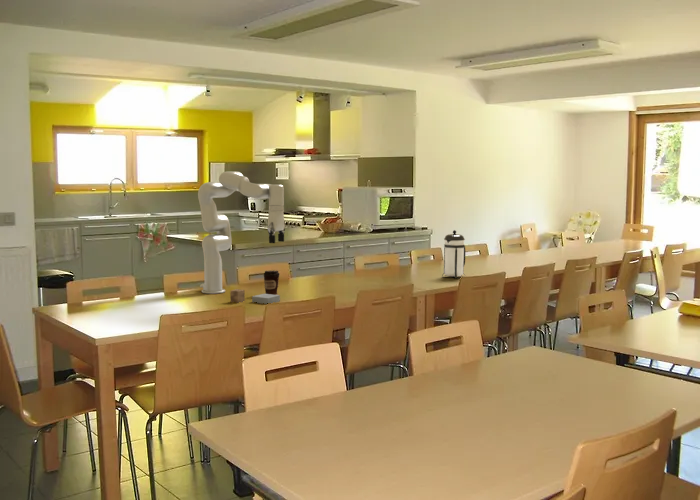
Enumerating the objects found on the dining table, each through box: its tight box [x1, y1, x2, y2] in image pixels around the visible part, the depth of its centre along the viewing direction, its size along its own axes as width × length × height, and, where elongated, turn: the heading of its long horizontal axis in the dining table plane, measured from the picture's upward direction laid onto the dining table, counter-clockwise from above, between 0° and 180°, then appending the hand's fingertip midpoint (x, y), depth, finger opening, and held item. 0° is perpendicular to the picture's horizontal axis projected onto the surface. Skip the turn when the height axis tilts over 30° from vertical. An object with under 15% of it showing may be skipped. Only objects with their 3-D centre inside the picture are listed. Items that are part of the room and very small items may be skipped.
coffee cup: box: [263, 269, 280, 295], centre depth 384 cm, size 9×8×13 cm
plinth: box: [251, 293, 281, 305], centre depth 364 cm, size 10×10×3 cm
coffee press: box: [441, 229, 466, 279], centre depth 455 cm, size 17×16×30 cm
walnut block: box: [229, 288, 246, 304], centre depth 363 cm, size 5×5×6 cm
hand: (276, 242), depth 366 cm, fingers open, 9 cm apart
